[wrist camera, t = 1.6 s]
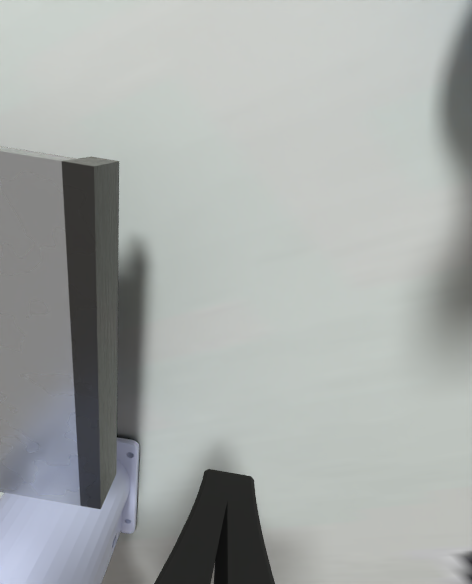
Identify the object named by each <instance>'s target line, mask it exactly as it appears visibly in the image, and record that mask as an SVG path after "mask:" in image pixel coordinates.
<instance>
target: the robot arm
mask: <svg viewBox="0 0 472 584" xmlns="http://www.w3.org/2000/svg"><path fill="white" fill-rule="evenodd" d="M138 467H139V444H138V443H137V442H136V441H134V440H129V439H124V438H118V437H117V466H116V476H115V478H114V480H113V483H112V485H111V487H110V489H109V492H108V494H107V496H106V499H105V501H104V503H103V505H102V508H101V509H95V508H89V507H84V506H78V505H72V504H67V503H61V502H55V501H50V500H44V499H38V498H32V497H27V496H21V495H15V494H10V493H4V494H3V495H2V497H1V498H0V584H102V581H103V578H104V575H105V573H106V570H107V567H108V565H109V562H110V559H111V556H112V554H113V551H114V548H115V545H116V543H117V540H118V537H119V535H120V532H123V533H133V532H134V530H135V527H136V511H137V489H138ZM214 563H215V572H214V584H275V582H274V579H273V575H272V572H271V568H270V564H269V560H268V556H267V552H266V548H265V544H264V539H263V535H262V530H261V525H260V520H259V515H258V510H257V504H256V497H255V488H254V480H253V478H252V477H251V476H245V475H240V474H234V473H228V472H222V471H217V470H211V469H208V470H206V471H205V472H204V476H203V480H202V483H201V486H200V489H199V492H198V495H197V498H196V500H195V503H194V505H193V507H192V510H191V512H190V515H189V517H188V519H187V521H186V523H185V525H184V528H183V530H182V532H181V534H180V536H179V538H178V540H177V542H176V544H175V546H174V548H173V550H172V552H171V554H170V556H169V558H168V560H167V561H166V563H165V565H164V567H163V569H162V571H161V572H160V574H159V576H158V578H157V580H156V582H155V583H154V584H210V583H211V578H212V573H213V568H214Z"/></svg>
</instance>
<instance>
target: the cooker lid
mask: <svg viewBox="0 0 472 584" xmlns="http://www.w3.org/2000/svg"><path fill="white" fill-rule="evenodd" d="M118 226H119V161H114V160H108V159H102V158H96V157H86V158H79V159H76V158H70V157H64V156H58V155H51V154H45V153H39V152H33V151H27V150H21V149H15V148H8V147H2V146H0V492H4V493H10V494H15V495H21V496H27V497H32V498H38V499H44V500H50V501H55V502H61V503H67V504H72V505H78V506H84V507H89V508H95V509H101V508H102V505H103V503H104V501H105V499H106V496H107V494H108V492H109V489H110V487H111V485H112V483H113V480H114V478H115V476H116V466H117V346H118Z"/></svg>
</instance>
